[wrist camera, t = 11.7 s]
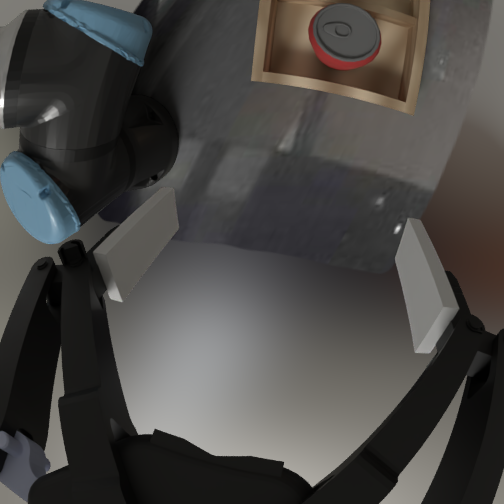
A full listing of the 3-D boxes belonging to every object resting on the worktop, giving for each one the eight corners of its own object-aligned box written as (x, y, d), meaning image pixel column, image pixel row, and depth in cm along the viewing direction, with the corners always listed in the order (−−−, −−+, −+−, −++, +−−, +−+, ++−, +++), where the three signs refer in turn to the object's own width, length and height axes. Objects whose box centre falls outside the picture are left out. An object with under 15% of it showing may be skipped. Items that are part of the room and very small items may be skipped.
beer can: (314, 18, 25) (309, -8, 15) (369, 28, 24) (389, 7, 14) (310, 65, 29) (303, 60, 19) (364, 76, 28) (382, 75, 18)
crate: (260, 79, 32) (251, 80, 28) (275, -46, 20) (267, -61, 16) (402, 110, 29) (413, 115, 25) (419, -17, 18) (430, -28, 14)
